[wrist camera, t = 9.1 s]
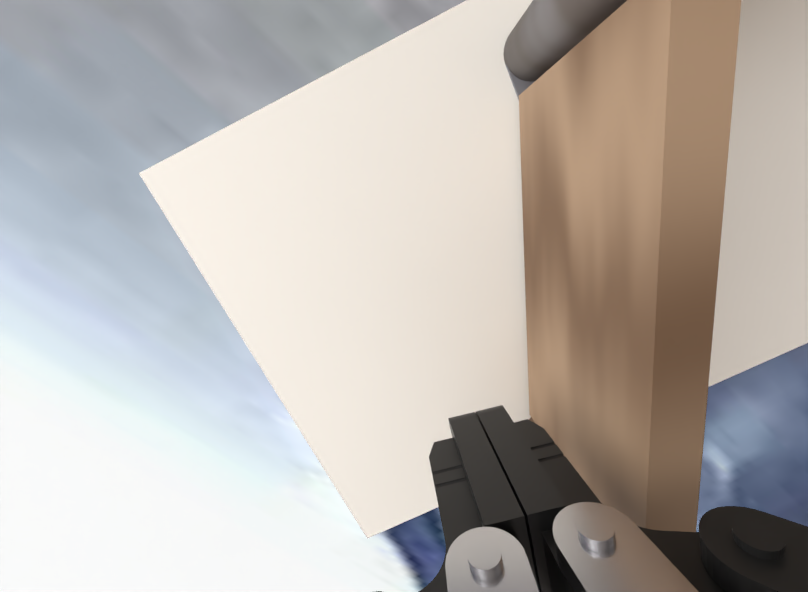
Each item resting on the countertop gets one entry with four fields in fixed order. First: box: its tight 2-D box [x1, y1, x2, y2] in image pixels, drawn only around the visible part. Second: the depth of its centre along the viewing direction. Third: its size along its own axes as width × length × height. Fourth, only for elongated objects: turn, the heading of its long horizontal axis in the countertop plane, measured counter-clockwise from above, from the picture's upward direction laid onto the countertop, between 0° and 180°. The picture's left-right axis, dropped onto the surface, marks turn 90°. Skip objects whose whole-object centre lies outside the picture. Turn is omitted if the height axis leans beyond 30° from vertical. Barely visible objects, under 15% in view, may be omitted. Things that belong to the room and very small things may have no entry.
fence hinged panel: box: [519, 0, 741, 532], centre depth 9 cm, size 12×1×6 cm, turn 6°
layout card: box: [139, 0, 808, 538], centre depth 12 cm, size 22×15×1 cm
